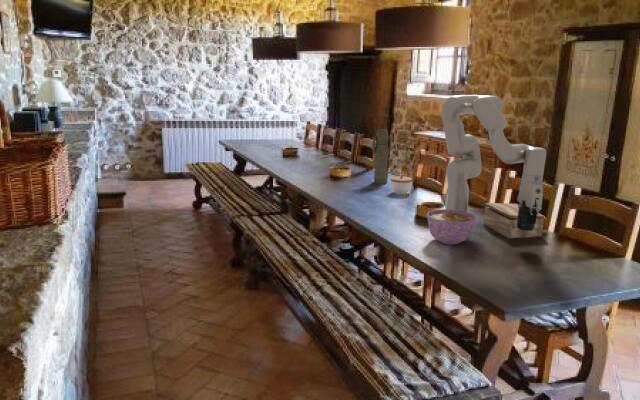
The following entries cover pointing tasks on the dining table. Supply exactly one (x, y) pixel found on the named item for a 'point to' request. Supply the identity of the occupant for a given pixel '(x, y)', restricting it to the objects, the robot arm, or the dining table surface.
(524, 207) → the supplement bottle
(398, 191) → the lidded bowl
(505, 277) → the dining table surface
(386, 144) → the thermos
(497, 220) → the box
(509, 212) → the lid
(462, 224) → the bowl of food
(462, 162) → the robot arm
